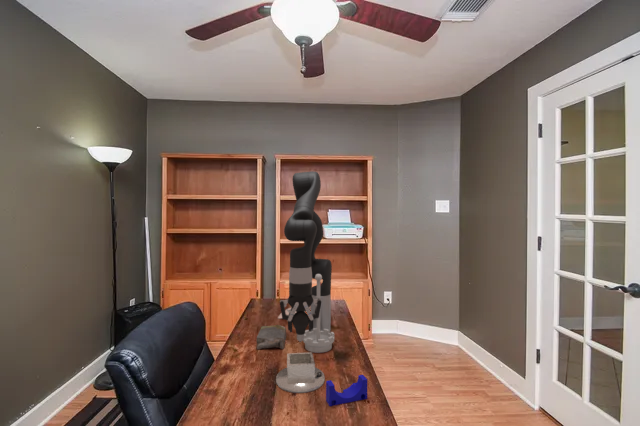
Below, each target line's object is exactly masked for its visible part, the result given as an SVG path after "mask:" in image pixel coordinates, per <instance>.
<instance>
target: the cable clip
mask: <svg viewBox="0 0 640 426" xmlns="http://www.w3.org/2000/svg"><path fill="white" fill-rule="evenodd" d="M362 400H368V378H367V377H366V376H365V375H364V374H360V375H359V374H358V377H357V381H356V382H353V383H352V384H351V385H350V386H349V387H347V388H346V389H342V392H339V391H337V390H336V387H335V384H334V383H333V381H332V380H326V382H325V401H326V403H327V404H328V406H329V407H332V406H338V405H342V404H348V403H352V402H357V401H362Z"/></svg>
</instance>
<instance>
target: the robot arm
mask: <svg viewBox="0 0 640 426" xmlns="http://www.w3.org/2000/svg"><path fill="white" fill-rule="evenodd" d="M321 185H322V183H321V175H320V173H318V171H314V170H313V171H302V172H296V173H294V174H293V175H292V186H293V192H294V195H295V196H294V197H295V199H296V202H295V204H294V206H293V207H294V208H293V213H292V214H291V216H290V217H289V218H288V220H287V221H286V223H285V225H284V229H283V233H284V237H285V238H286V239H287V240H288V241H290V242H303V244H304V245H303V246H301V247H297V248H292V249H291V250H290V251H289V271H288V272H289V273H288V275H289V277H288V287H289V288H288V298H287V299H280V300H279V305H280V306H279V307H280V311H281V313H282V318H281V319H282V320H283V321H284V320H285V321H286V322H287V331H288V332H289V333H293V323H292V318H293V316H294V314H295V312H299V311H303V312H305V311H306V312H307V314H308V317H309V323H308V330H309V332H311V331H313V328H317V318H319V313H320V331H324V329H328V330H329V333H331V324H332V323H331V320H332V319H331V313H332V312H331V311H332V310H331V305H332V304H331V302H332V301H331V300H332V299H331V297H332V296H331V294H332V293H331V292H332V291H331V290H332V273H333V272H332V269H333V267H332V261H331V260H330V259H326V258H316V256H315V254H316V250H317V248H318V246H319V245H320V243H321V241H322V239H323V237H324V228H323V221H322V219H321V217H320V216H319V214H318V213H317V212H316V211H315V205H316V202H317V201H318V197H319V195H320V193H321ZM316 274H321V275H322V279H321V280H322V281H321V286H320V299H319V298H318V299H317V284H316V285H314V286H313V279H314V280H316V279H315V276H316ZM287 304H288V305H289V306H290V308H291V310H290V313H289V315H286V313H285V310H286V309H285V308H286V307H287ZM309 307H310V308H309ZM310 310H311V311H310ZM281 313H280V314H281Z"/></svg>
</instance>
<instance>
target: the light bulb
mask: <svg viewBox="0 0 640 426" xmlns="http://www.w3.org/2000/svg"><path fill="white" fill-rule="evenodd" d="M292 327H294V329H295V333H296V340H297V341H298V342H299V343H303V340H304V334H305V331H306V330H307V328H308V327H309V316H308V315H307V314H306V313H305V312H303V311H299V312H296V313H295V314H294V316H293V318H292Z"/></svg>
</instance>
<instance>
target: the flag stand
mask: <svg viewBox="0 0 640 426" xmlns="http://www.w3.org/2000/svg"><path fill="white" fill-rule="evenodd" d="M314 280H315V281H316V285H317V299H318V298H319V299H320V286H321V283H322V280H323V279H322V275H321V274H316V276H315V279H314ZM334 342H335V332H334V331H330V332H329V330H328V329H324V331H320V313H319V318H317V328H313V331H309V329H306V330H305V334H304V340H303V341H302V343H304V348H305V350H306V351H308V352H312V353H316V354H317V353H318V354H321V353H327V352H329V351H331V350H332V348H333V343H334Z"/></svg>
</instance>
